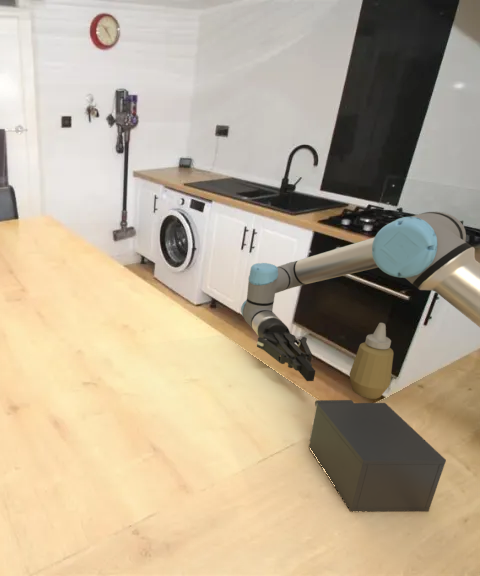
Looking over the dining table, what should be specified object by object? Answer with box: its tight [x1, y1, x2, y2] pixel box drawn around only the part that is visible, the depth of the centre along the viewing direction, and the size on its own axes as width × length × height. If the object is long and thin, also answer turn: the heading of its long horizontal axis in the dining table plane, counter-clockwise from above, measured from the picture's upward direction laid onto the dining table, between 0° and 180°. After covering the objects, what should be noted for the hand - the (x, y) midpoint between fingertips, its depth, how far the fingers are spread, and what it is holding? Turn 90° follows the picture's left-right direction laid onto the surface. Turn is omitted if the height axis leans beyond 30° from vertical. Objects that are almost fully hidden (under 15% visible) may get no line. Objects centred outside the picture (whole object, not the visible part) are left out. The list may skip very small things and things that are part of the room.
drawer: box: [309, 399, 355, 440], centre depth 76 cm, size 18×11×9 cm, turn 179°
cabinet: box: [308, 402, 447, 513], centre depth 72 cm, size 15×13×11 cm
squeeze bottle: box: [349, 322, 395, 400], centre depth 94 cm, size 8×8×18 cm
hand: (311, 375), depth 92 cm, fingers closed
